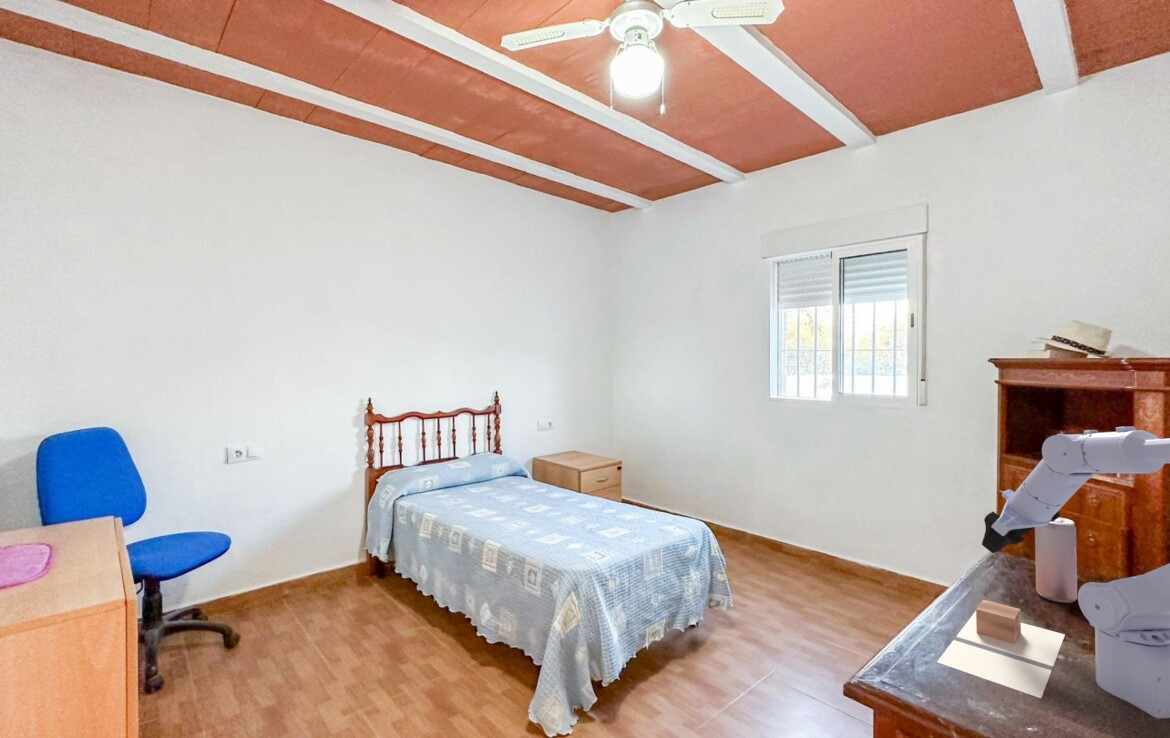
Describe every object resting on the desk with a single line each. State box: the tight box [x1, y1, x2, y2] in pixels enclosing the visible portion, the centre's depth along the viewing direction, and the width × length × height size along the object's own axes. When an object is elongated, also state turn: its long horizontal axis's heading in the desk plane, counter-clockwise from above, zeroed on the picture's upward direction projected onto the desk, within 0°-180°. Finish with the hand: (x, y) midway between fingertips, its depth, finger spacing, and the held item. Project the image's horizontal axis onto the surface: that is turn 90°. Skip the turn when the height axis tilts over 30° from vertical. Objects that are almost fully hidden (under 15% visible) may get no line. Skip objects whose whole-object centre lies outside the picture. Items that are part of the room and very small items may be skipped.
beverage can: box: [1034, 516, 1078, 604], centre depth 102 cm, size 6×6×15 cm
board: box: [936, 610, 1066, 699], centre depth 83 cm, size 24×12×1 cm, turn 132°
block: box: [975, 599, 1022, 644], centre depth 87 cm, size 5×5×4 cm
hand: (1002, 539), depth 93 cm, fingers open, 7 cm apart
